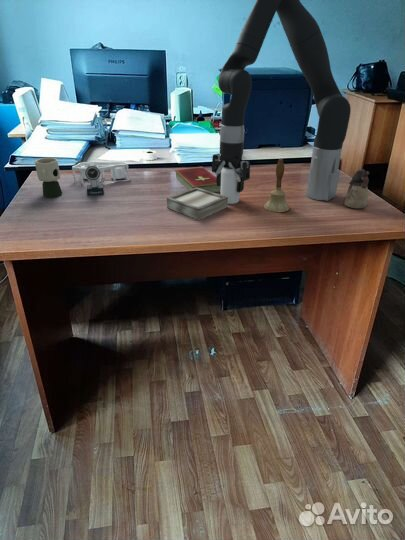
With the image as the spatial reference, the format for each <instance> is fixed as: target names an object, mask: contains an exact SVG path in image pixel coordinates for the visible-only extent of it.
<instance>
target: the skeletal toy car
mask: <svg viewBox="0 0 405 540" xmlns="http://www.w3.org/2000/svg"><path fill="white" fill-rule="evenodd" d="M91 163H95V165H97V167H98V169H99V171H100V172H101V174H100V177H99V182H98V184H100V183H102V179H105V178H106V176H105V171H108V170H109V171H110V178H111V179H113V181H110V182H105V185H108V184H113V183H114V184H115V183H117V182H119V180H120V182H126V181H127V182H128V181H130V180H131V179H130V172H129V171H130V170H129V163H128V162H125V161H88V162H87V161H85V162H84V161H83V162H78V163H77V164H76V165H72V167H71V170H72V176H73V183H74V184H77V183H78V181H77V176H76V172H79V177H80V182H81V186H83V185H84V184H85V182H84V180H88V179H87V177H86V175H85V171H86V168H87V166H88V164H91ZM101 175H102V176H101ZM101 177H102V178H101ZM122 179H123V180H122Z"/></svg>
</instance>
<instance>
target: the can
mask: <svg viewBox="0 0 405 540" xmlns="http://www.w3.org/2000/svg"><path fill="white" fill-rule="evenodd" d="M239 168H240V167H239ZM239 168H237V169H236V171H237V172H239V171H240V169H239ZM239 175H240V174H239ZM237 181H238V180H237V178H236V176H235V174H234V171H233V169H231V168H227V167H223V168H222V170H221V192H220V195H223V196H226V197H228V205H234V204H237V203H239V202H240V197H241V196H240V194H241V192H237Z"/></svg>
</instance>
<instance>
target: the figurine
mask: <svg viewBox="0 0 405 540" xmlns="http://www.w3.org/2000/svg"><path fill="white" fill-rule="evenodd" d="M369 175H370V171H368V170H367V171H366V170H365V169H364V168H363V169H361V168H360V169H358V170H357V171H356V172H354V175H353V176H352V177H351V180H350V181H349V183H348V184H349V186H348V188H347V192H346V194H345V197H344V200H343V205H344V206H345V207H348V208H351V209H364V208H366V206H367V204H368V199H369V197H368V196H369V190H368V185H369V181H370V180H369V177H368V176H369Z"/></svg>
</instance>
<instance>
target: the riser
mask: <svg viewBox="0 0 405 540" xmlns="http://www.w3.org/2000/svg"><path fill="white" fill-rule="evenodd" d="M228 205H229V204H228V197H226V196H223V195H221V193H220V194H219V193H217V192H210V191H207V190H204V189H200V188H197V187H195V188H193V189H190V190H188V189H187V190H185V191H182V192H179V193H176V194H173V195H171V196H169V197H166V208H168V209H171V210H172V211H175V212H178V213H180V214H182V215H185V216H187V215H188V216H187V217H190V216H191V217H190V218H192V217H193V218H192V219H195V218H196V219H195V220H197V219H200V220H202V219H204V217H205V218H206V216H207V217H209V216H211V215H214V214H216V213H218V212H220V211H223V210H224V209H226V208H228ZM213 213H214V214H213ZM208 215H209V216H208ZM201 218H202V219H201Z"/></svg>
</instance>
